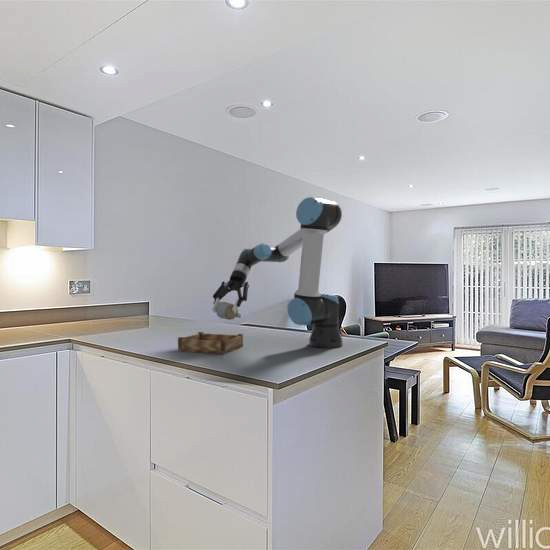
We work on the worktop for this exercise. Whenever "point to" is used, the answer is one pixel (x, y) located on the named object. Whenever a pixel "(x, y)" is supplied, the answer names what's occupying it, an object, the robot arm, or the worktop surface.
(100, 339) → the worktop surface
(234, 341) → the crate
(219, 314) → the ceramic mug
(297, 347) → the worktop surface
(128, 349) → the worktop surface
